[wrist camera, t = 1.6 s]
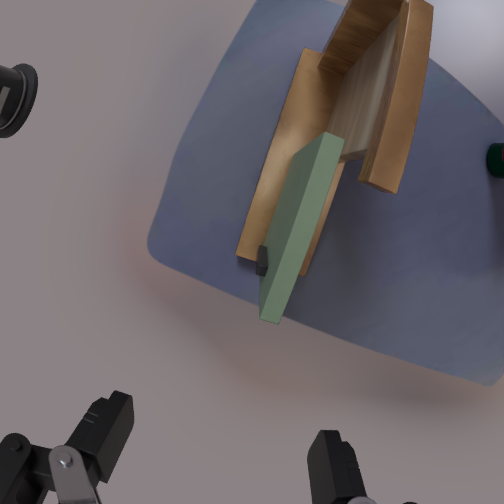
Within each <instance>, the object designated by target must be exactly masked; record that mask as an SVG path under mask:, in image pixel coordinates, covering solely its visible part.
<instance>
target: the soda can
mask: <svg viewBox="0 0 504 504" xmlns="http://www.w3.org/2000/svg"><path fill="white" fill-rule="evenodd" d="M487 163H488V167H489V169H490V171H491V172H492V174H493V175H494V176H495V177H497V178H502V179H504V143H494V144H492V145H491V146H490V148H489V150H488V153H487Z"/></svg>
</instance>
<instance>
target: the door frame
mask: <svg viewBox="0 0 504 504" xmlns="http://www.w3.org/2000/svg"><path fill="white" fill-rule="evenodd" d="M432 21H433V6H432V5H430V4H429V3H427V2H426V1H424V0H349V1H348V3H347V5H346V6H345V8H344V10H343V12H342V14H341V16H340V18H339V20H338V22H337V24H336V26H335V28H334V30H333V32H332V34H331V36H330V38H329V40H328V42H327V44H326V45H325V47H324V49H323V51H322V53H319V52H316V51H313V50H310V49H307V48H304V49H303V52H302V55H301V58H300V61H299V64H298V66H297V69H296V72H295V75H294V78H293V81H292V84H291V87H290V90H289V92H288V95H287V98H286V101H285V104H284V107H283V110H282V113H281V116H280V119H279V122H278V125H277V128H276V131H275V134H274V137H273V140H272V143H271V146H270V149H269V152H268V155H267V158H266V161H265V164H264V167H263V170H262V173H261V176H260V179H259V182H258V185H257V188H256V191H255V194H254V197H253V200H252V203H251V206H250V209H249V213H248V216H247V219H246V222H245V225H244V228H243V231H242V234H241V237H240V241H239V244H238V247H237V250H236V253H235V255H237V256H240V257H243V258H247V259H250V260H253V261H256V258H257V250H258V247H259V245H262V246H263V244H264V241H265V238H266V235H267V232H268V229H269V226H270V223H271V221H272V218H273V215H274V212H275V209H276V206H277V203H278V200H279V197H280V194H281V191H282V188H283V185H284V182H285V179H286V176H287V173H288V170H289V167H290V164H291V161H292V158H293V155H294V154H295V153H296V152H298V151H299V150H300V149H302V148H303V147H304V146H306V145H307V144H309V143H310V142H311V141H313V140H314V139H315V138H317V137H318V136H319V135H321V134H322V133H324V132H327V133H330V134H332V135H335V136H337V137H340V138H342V139H345V142H344V146H343V149H342V152H341V155H340V158H339V161H338V164H337V167H336V171H335V174H334V177H333V180H332V183H331V186H330V189H329V192H328V194H327V197H326V200H325V203H324V206H323V209H322V212H321V215H320V218H319V220H318V223H317V226H316V229H315V232H314V234H313V237H312V240H311V243H310V245H309V248H308V251H307V253H306V256H305V259H304V261H303V264H302V267H301V269H300V272H299V274H298V275H300V276H304V277H305V275H306V272H307V269H308V267H309V264H310V262H311V259H312V256H313V254H314V251H315V248H316V246H317V243H318V240H319V238H320V235H321V232H322V229H323V227H324V224H325V221H326V218H327V215H328V213H329V210H330V207H331V204H332V201H333V198H334V195H335V192H336V189H337V186H338V183H339V180H340V177H341V174H342V171H343V168H344V165H345V162H348V161H354V160H359V159H364V162H363V165H362V168H361V171H360V174H359V178H358V182H360V183H363V184H365V185H367V186H370V187H372V188H374V189H377V190H379V191H381V192H384V193H391V194H396V193H397V190H398V187H399V184H400V181H401V178H402V174H403V171H404V167H405V164H406V160H407V157H408V153H409V149H410V146H411V142H412V138H413V134H414V130H415V126H416V121H417V117H418V112H419V108H420V103H421V98H422V93H423V88H424V82H425V76H426V70H427V64H428V57H429V50H430V41H431V31H432Z"/></svg>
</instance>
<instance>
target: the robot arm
mask: <svg viewBox="0 0 504 504" xmlns="http://www.w3.org/2000/svg"><path fill="white" fill-rule="evenodd" d="M27 90H28V79H27V76H26V74H25V73H24V72H22V71H19V70H14V69H11V68H7V67H4V66H0V130H3V129H6V128H8V127H9V126H10V125H11V124H12V123H13V122H14V121H15V120H16V118H17V117H18V115H19V113H20V111H21V109H22V107H23V105H24V102H25V99H26V95H27ZM133 424H134V410H133V399H132V396H131V395H128V394H125V393H122V392H119V391H116V390H115V391H114V392H113V393H112V394H111V396H110V398H109V399H105V398H102V397H101V398H100V399H98V400H97V401H95V402H93V403H92V405H91V406H90V408H89V409H88V411H87V413H86V414H85V415H84V417H83V419H82V420H81V421H80V423H79V424H78V426H77V427H76V429H75V430H74V432H73V433H72V435H71V436H70V438H69V440H68V441H67V442H66V443H65V444H64V445H61V446H57V447H55V448H54V449H49V448H44V447H40V446H36V445H32V444H30V442H29V440H28V439H27V438H26V437H25V436H23V435H21V434H19V433H11V434H9V435H7V436H6V437H4V439H3V440H2V442H1V443H0V504H42V503H43V501H44V499H45V497H46V495H47V492H48V490H51V491H55V492H56V493H57V496H58V500H59V504H102V502H101V499H100V497H99V494H98V491H97V489H96V487H97V485H98V482H99V481H102V482H104V483H107V482H108V480H109V478H110V476H111V474H112V472H113V469H114V467H115V465H116V463H117V461H118V458H119V456H120V454H121V451H122V450H123V448H124V445H125V443H126V441H127V439H128V437H129V435H130V433H131V430H132V428H133ZM356 460H357V458H356V455H355V452H354V449H353V448H352V447H351V446H350V444H349V443H348V442H347V441H346V442H342V441H341V437H340V433H339V431H337V430H320V432H319V433H318V435H317V437H316V439H315V440H314V442H313V444H312V445H311V447H310V449H309V452H308V456H307V462H308V470H309V478H310V487H311V495H312V504H376V503H375V501H374V500H372V499H370V498H368V497H367V494H366V491H365V487H364V484H363V480H362V476H361V473H360V469H359V468H358V467H359V465H358V462H357V461H356ZM403 504H417V503H414V502H406V503H403Z"/></svg>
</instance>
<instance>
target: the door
mask: <svg viewBox="0 0 504 504" xmlns="http://www.w3.org/2000/svg"><path fill="white" fill-rule="evenodd" d="M344 142H345V139H342V138H340V137H337V136H335V135H332V134H330V133H327V132H324V133H322V134H321V135H319V136H318V137H317V138H315V139H314V140H313V141H311V142H310V143H309V144H307V145H306V146H304V147H303V148H302V149H300V150H299V151H298V152H296V153H295V154H294V155H293V158H292V161H291V164H290V167H289V170H288V173H287V176H286V179H285V182H284V185H283V188H282V191H281V194H280V197H279V200H278V203H277V206H276V209H275V212H274V215H273V218H272V221H271V223H270V226H269V229H268V232H267V235H266V238H265V241H264V244H263V246H262V245H259V247H258V250H257V258H256V274H257V275H260V304H259V309H260V310H259V319H261V320H264V321H268V322H271V323H275V324H279V322H280V320H281V317H282V315H283V312H284V310H285V307H286V305H287V302H288V300H289V297H290V295H291V292H292V290H293V287H294V285H295V282H296V280H297V277H298V274H299V272H300V269H301V267H302V264H303V261H304V259H305V256H306V253H307V251H308V248H309V245H310V243H311V240H312V237H313V234H314V232H315V229H316V226H317V223H318V220H319V218H320V215H321V212H322V209H323V206H324V203H325V200H326V197H327V194H328V192H329V189H330V186H331V183H332V180H333V177H334V174H335V171H336V167H337V164H338V161H339V158H340V155H341V152H342V149H343V146H344Z"/></svg>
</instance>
